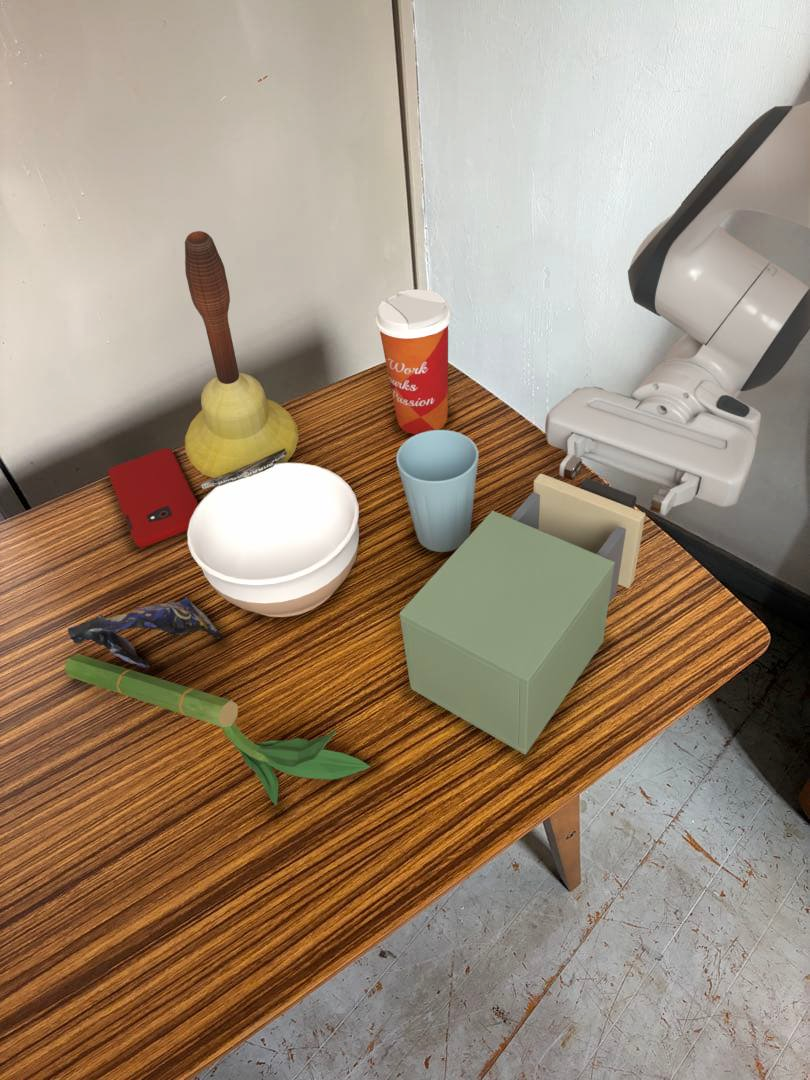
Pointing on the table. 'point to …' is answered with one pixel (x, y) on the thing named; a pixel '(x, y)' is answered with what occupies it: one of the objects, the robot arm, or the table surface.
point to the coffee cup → (416, 357)
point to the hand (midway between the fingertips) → (610, 490)
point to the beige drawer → (588, 521)
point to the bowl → (277, 538)
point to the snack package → (160, 616)
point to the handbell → (228, 382)
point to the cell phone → (153, 496)
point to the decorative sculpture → (246, 470)
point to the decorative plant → (221, 724)
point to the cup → (439, 486)
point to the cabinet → (507, 628)
